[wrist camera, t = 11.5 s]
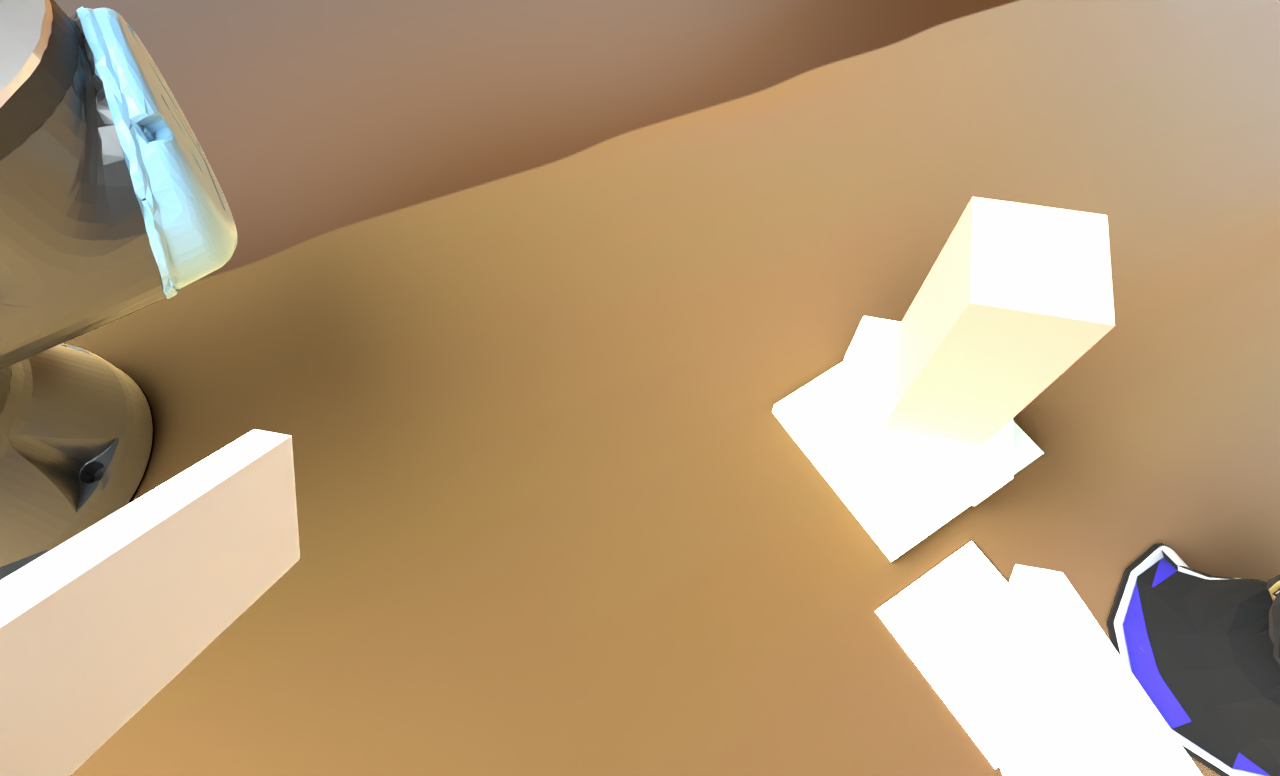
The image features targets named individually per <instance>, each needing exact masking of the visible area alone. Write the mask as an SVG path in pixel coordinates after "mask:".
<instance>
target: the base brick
mask: <svg viewBox="0 0 1280 776" xmlns="http://www.w3.org/2000/svg"><path fill="white" fill-rule="evenodd" d="M900 323H901V322H900V321H894V320H887V319H881V318H875V317H869V316H863V318H862V320H861V322H860V324H859V326H858V329H857V331H856V333H855V335H854V337H853V339H852V342H851V344H850V346H849V348H848V350H847V352H846V354H845V357H844V362H843V371H842V380H841V389H840V398H839V407H838V416H837V425H836V434H835V442H834V451H833V460H832V469H831V478H830V479H835V480H840V481H845V482H850V483H856V484H861V485H866V486H871V487H876V488H882V489H887V490H892V491H897V492H903V493H908V494H913V495H918V496H923V497H929V498H934V499H939V500H944V501H949V502H955V503H960V504H965V505H970V506H976V505H977V504H979V503H980V502H982V501H983V500H984V499H986V498H987V497H989V496H990V495H991V494H993V493H994V492H995V491H997V490H998V489H1000V488H1001V487H1002V486H1004V485H1005V484H1006V483H1008V482H1009V481H1011V480H1012V479H1013V478H1014V418H1013V419H1011V420H1010V421H1009V422H1008V423H1007V424H1006V425H1005V426H1004V427H1003V428H1001V429H1000V430H999V431H998V432H997V433H996V434H995V435H994V436H993V437H992V438H990V439H989V440H988V441H987V442H986V443H985V444H984V445H983V446H981V445H975V444H970V443H964V442H958V441H953V440H947V439H942V438H936V437H931V436H925V435H920V434H914V433H909V432H903V431H898V430H892V429H887V428H882V419H883V407H884V395H885V383H886V371H887V359H888V347H889V343H890V341H891V339H892V338H893V336H894V334H895V332H896V331H897V329H898V327H899V325H900Z"/></svg>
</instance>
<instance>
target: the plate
mask: <svg viewBox="0 0 1280 776" xmlns="http://www.w3.org/2000/svg"><path fill="white" fill-rule="evenodd" d="M843 362H844V361H842V362H841V363H839V364H838V365H836V366H834V367H833V368H831V369H830V370H828V371H827V372H825V373H823V374H822V375H820V376H819V377H817V378H815V379H814V380H812V381H811V382H809V383H807V384H806V385H804V386H803V387H801V388H799V389H798V390H796V391H795V392H793V393H792V394H790V395H788V396H787V397H785V398H784V399H782V400H780V401H779V402H777V403H776V404H774V407H773V410H772V413H773V415H774V416H775V417H776V418H777V420H778V421H779V422H780V423H781V425H782V426H783V427H784V428H785V430H786V431H787V432H788V433H789V435H790V436H791V437H792V438H793V440H794V441H795V442H796V443H797V445H798V446H799V447H800V449H801V450H802V451H803V452H804V454H805V455H806V456H807V457H808V459H809V460H810V461H811V462H812V464H813V465H814V466H815V467H816V469H817V470H818V471H819V472H820V474H821V475H822V476H823V477H824V479H825V480H826V481H827V482H828V484H829V485H830V486H831V487H832V489H833V490H834V491H835V493H836V494H837V495H838V496H839V498H840V499H841V500H842V501H843V503H844V504H845V505H846V506H847V508H848V509H849V510H850V511H851V513H852V514H853V515H854V516H855V518H856V519H857V520H858V521H859V523H860V524H861V525H862V526H863V528H864V529H865V530H866V531H867V533H868V534H869V535H870V537H871V538H872V539H873V540H874V542H875V543H876V544H877V545H878V547H879V548H880V549H881V550H882V552H883V553H884V554H885V555H886V557H887V558H888V559H889V560H890V562H893V561H894V560H895V559H897V558H898V557H900V556H901V555H902V554H904V553H905V552H907V551H908V550H909V549H911V548H912V547H914V546H915V545H917V544H918V543H919V542H921V541H922V540H924V539H925V538H926V537H928V536H929V535H931V534H932V533H933V532H935V531H936V530H938V529H939V528H940V527H942V526H943V525H945V524H946V523H947V522H949V521H950V520H952V519H953V518H954V517H956V516H957V515H959V514H960V513H961V512H963V511H964V510H966V509H967V508H968V507H970V505H965V504H960V503H955V502H949V501H944V500H939V499H934V498H929V497H923V496H918V495H913V494H908V493H903V492H897V491H892V490H887V489H882V488H876V487H871V486H866V485H861V484H856V483H850V482H845V481H840V480H835V479H830V478H831V469H832V460H833V451H834V442H835V434H836V425H837V416H838V407H839V398H840V389H841V380H842V371H843ZM1043 454H1044V452H1043V451H1042V450H1041V449H1040V448H1039V447H1038V446H1037V445H1036V444H1035V443H1034V442H1033V441H1032V440H1031V439H1030V437H1029V436H1028V435H1027V434H1026V433H1025V432H1024V431H1023V430H1022V429H1021V428H1020V427H1019V426H1018V425H1017V424H1016V423H1015V422H1014V475H1015V474H1016V473H1018V472H1019V471H1020V470H1022V469H1023V468H1025V467H1026V466H1027V465H1029V464H1030V463H1032V462H1033V461H1034V460H1036V459H1037V458H1038V457H1040V456H1041V455H1043Z"/></svg>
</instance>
